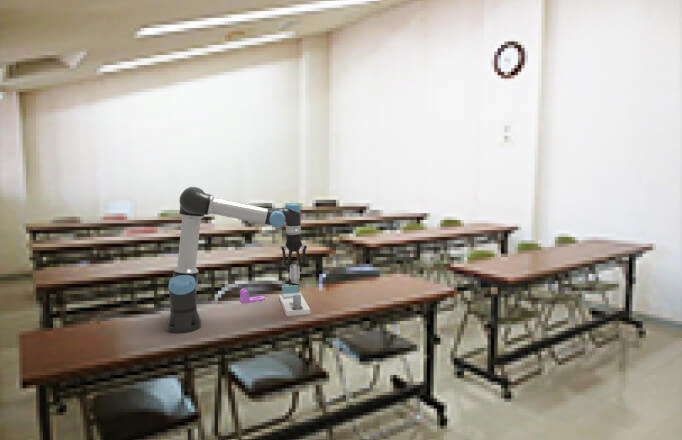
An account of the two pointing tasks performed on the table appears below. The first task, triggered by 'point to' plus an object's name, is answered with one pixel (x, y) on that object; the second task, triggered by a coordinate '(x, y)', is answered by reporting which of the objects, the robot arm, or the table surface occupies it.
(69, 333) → the table surface
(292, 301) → the housing
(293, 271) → the jaw pin
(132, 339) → the table surface
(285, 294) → the lid
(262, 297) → the bracket
